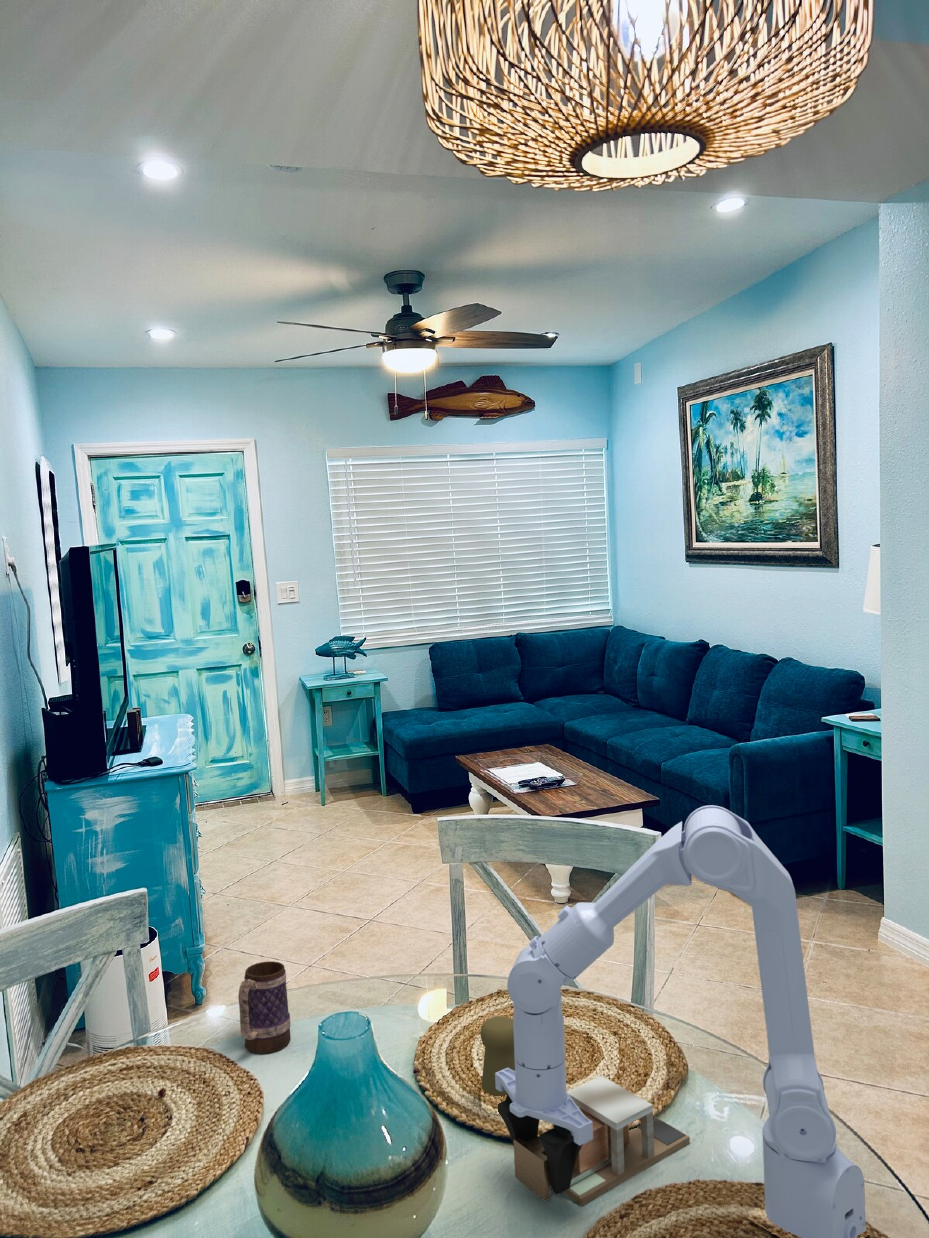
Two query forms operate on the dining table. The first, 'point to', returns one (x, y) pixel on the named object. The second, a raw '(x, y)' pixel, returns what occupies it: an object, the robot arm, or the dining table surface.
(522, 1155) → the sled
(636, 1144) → the tunnel board
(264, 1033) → the mug
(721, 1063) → the dining table surface
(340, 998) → the dining table surface
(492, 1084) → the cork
